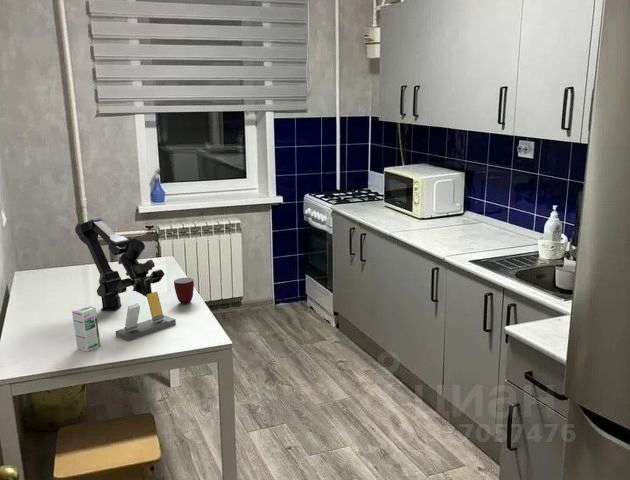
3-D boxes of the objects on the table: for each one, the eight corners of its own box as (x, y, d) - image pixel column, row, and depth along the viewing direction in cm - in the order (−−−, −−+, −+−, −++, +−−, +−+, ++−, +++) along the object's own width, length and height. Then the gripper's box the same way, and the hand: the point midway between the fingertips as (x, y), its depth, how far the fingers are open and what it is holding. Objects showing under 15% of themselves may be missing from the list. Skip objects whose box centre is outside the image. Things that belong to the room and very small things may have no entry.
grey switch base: (128, 341, 218) (127, 335, 217) (116, 336, 223) (115, 330, 222) (175, 324, 233) (175, 318, 233) (163, 319, 238) (162, 314, 238)
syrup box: (87, 352, 210) (82, 312, 206) (76, 348, 213) (71, 309, 209) (100, 346, 214) (96, 307, 211) (90, 343, 217) (85, 304, 214)
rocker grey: (124, 329, 222) (127, 306, 217) (134, 326, 225) (138, 303, 220) (126, 332, 221) (130, 308, 216) (136, 328, 224) (140, 305, 219)
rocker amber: (152, 321, 230) (145, 294, 230) (162, 318, 234) (155, 291, 233) (154, 321, 229) (147, 294, 229) (164, 318, 233) (157, 291, 232)
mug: (196, 306, 252) (194, 283, 250) (176, 309, 250) (174, 285, 248) (194, 298, 262) (192, 276, 260) (175, 301, 260) (173, 278, 258)
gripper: (117, 259, 224) (137, 293, 220) (159, 249, 238) (179, 281, 234) (108, 276, 231) (127, 309, 227) (149, 265, 245) (168, 296, 241)
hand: (151, 298), depth 232 cm, fingers closed, pressing on rocker amber
